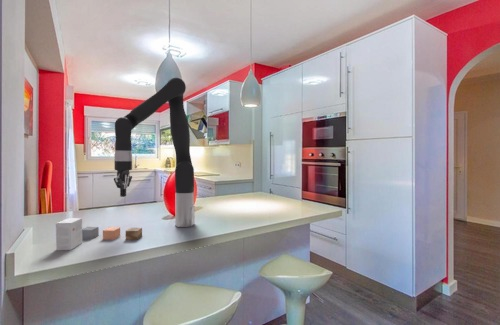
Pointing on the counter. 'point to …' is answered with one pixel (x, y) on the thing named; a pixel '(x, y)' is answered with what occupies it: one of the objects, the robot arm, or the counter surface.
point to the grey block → (90, 232)
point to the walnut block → (133, 233)
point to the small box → (68, 233)
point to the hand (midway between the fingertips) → (123, 196)
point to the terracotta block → (111, 233)
